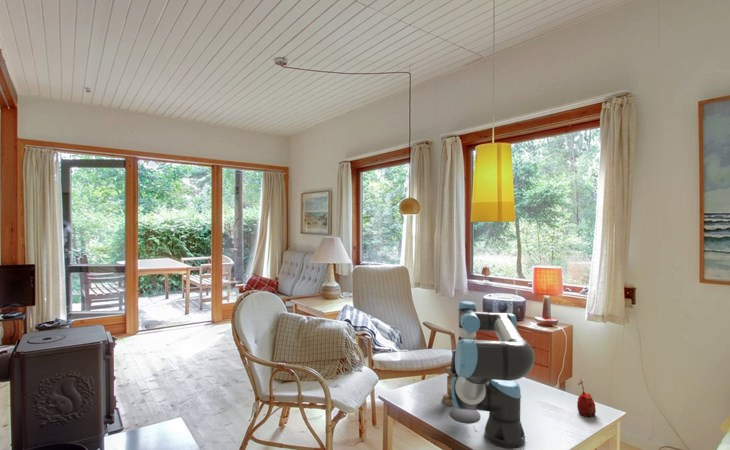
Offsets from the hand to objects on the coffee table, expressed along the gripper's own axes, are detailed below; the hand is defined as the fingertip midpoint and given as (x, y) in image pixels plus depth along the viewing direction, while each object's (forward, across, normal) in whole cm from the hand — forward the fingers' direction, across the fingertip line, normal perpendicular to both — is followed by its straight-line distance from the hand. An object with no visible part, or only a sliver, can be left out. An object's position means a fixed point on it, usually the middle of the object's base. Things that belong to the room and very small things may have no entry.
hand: (466, 387), depth 169 cm
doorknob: (+12, -1, +13) cm, 18 cm away
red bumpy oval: (+12, +53, -8) cm, 55 cm away
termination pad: (+12, -1, 0) cm, 12 cm away
